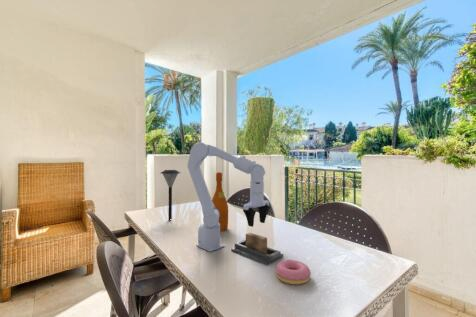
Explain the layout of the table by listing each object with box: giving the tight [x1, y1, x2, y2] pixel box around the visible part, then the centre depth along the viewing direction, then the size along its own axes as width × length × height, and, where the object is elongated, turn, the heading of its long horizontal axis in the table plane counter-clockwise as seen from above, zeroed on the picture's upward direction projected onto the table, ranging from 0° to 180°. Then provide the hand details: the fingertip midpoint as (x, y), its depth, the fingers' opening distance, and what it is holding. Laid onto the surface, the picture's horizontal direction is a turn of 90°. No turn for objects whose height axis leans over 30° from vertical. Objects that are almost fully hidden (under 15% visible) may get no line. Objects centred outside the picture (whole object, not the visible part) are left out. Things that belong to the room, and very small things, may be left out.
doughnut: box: [274, 259, 312, 285], centre depth 74 cm, size 11×11×4 cm
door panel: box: [245, 232, 268, 254], centre depth 91 cm, size 9×2×6 cm, turn 46°
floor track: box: [231, 239, 284, 266], centre depth 91 cm, size 18×10×2 cm, turn 46°
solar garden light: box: [160, 169, 181, 221], centre depth 139 cm, size 12×12×30 cm
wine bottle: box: [211, 171, 229, 232], centre depth 122 cm, size 10×10×30 cm
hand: (256, 224), depth 99 cm, fingers open, 7 cm apart
